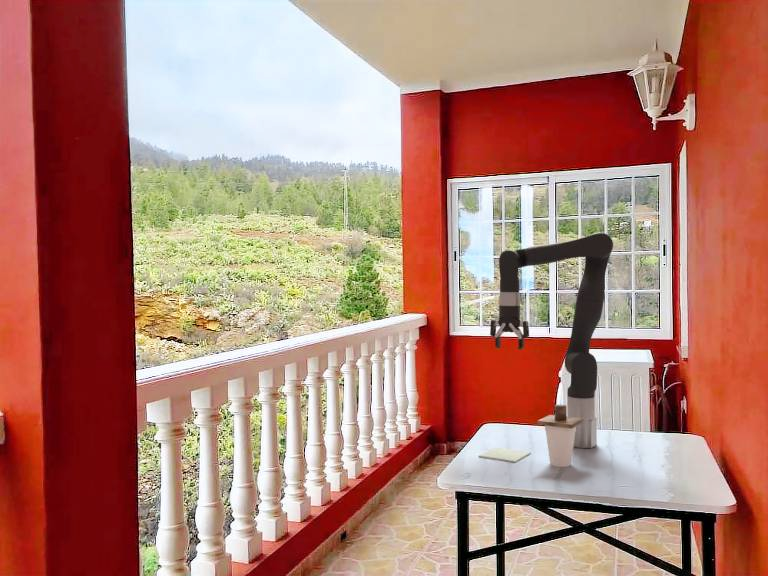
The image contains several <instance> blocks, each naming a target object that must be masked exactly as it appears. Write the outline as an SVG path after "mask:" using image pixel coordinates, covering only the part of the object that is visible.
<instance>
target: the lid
mask: <svg viewBox="0 0 768 576" xmlns="http://www.w3.org/2000/svg"><path fill="white" fill-rule="evenodd" d="M581 423H583V418H575V417H567V405H565V404H554V414H549V415H546V416H545V417H543V418H541V419H538V420H537V425H540V426H545V425H546V426H554V427H562V428H570V429H572V428H574V427H576V426H578V425H579V424H581Z"/></svg>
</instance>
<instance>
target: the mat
mask: <svg viewBox="0 0 768 576" xmlns="http://www.w3.org/2000/svg"><path fill="white" fill-rule="evenodd" d="M530 455H531V452H530V451H523V450H517V449H511V448H510V449H509V448H505V447H504V448H503V447H497V446H494V447H493V448H490V449H489V450H487V451H485V452H482V453H481V454H479V455H478V458H482V459H483V458H484V459H490V460H493V461H494V460H497V461H501V462H506V463H507V462H508V463H514V464H516V463H517V462H518V463H519V462H520V461H521V460H522V459H525V458H526V457H528V456H530Z"/></svg>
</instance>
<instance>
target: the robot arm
mask: <svg viewBox="0 0 768 576" xmlns="http://www.w3.org/2000/svg"><path fill="white" fill-rule="evenodd" d="M613 248H614V242H613V238H611V236H610V235H608V234H607V233H605V232H595V233H592V234H588V235H587V236H584V237H579V238H576V239H573V240H572V239H571V240H567V241H562V242H554V243H546V244H539V245H532V246H528V247H526V248H520V249H505V250H503V251H502V252H501V253H500V255H499V258H498V265H499V266H498V267H499V277H500V279H499V296H498V319H491V320H490V328H489V329H490V330H489V331H490V332H489V335H490V337H493V338H495V342H494V346H495V347H496V349H501V345H502V344H501V341H502V338H501V336H502V335H503V334H504V333H514V334H515V335H516V336H517V338H518V339H517V340H518V341H517V342H518V343H517V346H518V347H517V348H518V350H523V348H525V338H529V337H530V329H529V328H530V327H529V324H530V323H529V321H528V320H524V321H521V319H520V318H521V296H520V279H519V269H520V268H525V267H532V266H541V265H547V264H553V263H556V262H560V261H565V260H569V259H574V258H585V260H584V270H583V275H582V278H581V280H580V284H579V286H578V290H577V291H578V292H577V296H576V301H575V307H574V314H573V321H572V328H571V335H570V339H569V342H568V346H567V349H566V350H567V351H566V353H565V357H564V367H565V370H566V371H567V372H568V374H570V385H569V386H568V387H567V398H566V399H567V405H566V417H575V418H583V423H581V424H579V425H578V426H576V432H575V437H574V445H573V448H579V449H588V448H589V449H593V448H594V447H596V446H597V444H598V441H597V440H598V438H597V435H598V434H597V431H598V430H597V425H598V423H597V422H598V421H597V419H598V418H597V417H596V415H595V414H596V407H595V406H596V404H595V402H596V401H595V400H596V399H595V394H596V391H597V387H598V386H597V385H598V384H597V383H598V362H597V360H596V358H595V356H594V355H593V354H592V353H591V352H590V346H591V341H592V337H593V335H594V333H595V330H596V328H597V326H598V324H599V322H600V320H601V317H602V314H603V309H604V301H605V289H606V272H607V268H608V264H609V260H610V256H611V254H612V251H613ZM497 326H499V329H498V330H497ZM520 326H521V328H522V329H520Z"/></svg>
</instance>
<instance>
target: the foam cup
mask: <svg viewBox="0 0 768 576" xmlns="http://www.w3.org/2000/svg"><path fill="white" fill-rule="evenodd" d="M544 431H545V435H546V436H545V437H546V441H547V442H546V443H547V449H548V450H547V451H548V457H549V464H550V466H554V467H558V468H559V467H560V468H565V467H570V466H571V465H572V461H573V460H572V459H573V453H574V452H573V451H574V447H573V445H574V437H575V432H576V427H574V428H572V429H570V428H562V427H554V426H546V425H544Z"/></svg>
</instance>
